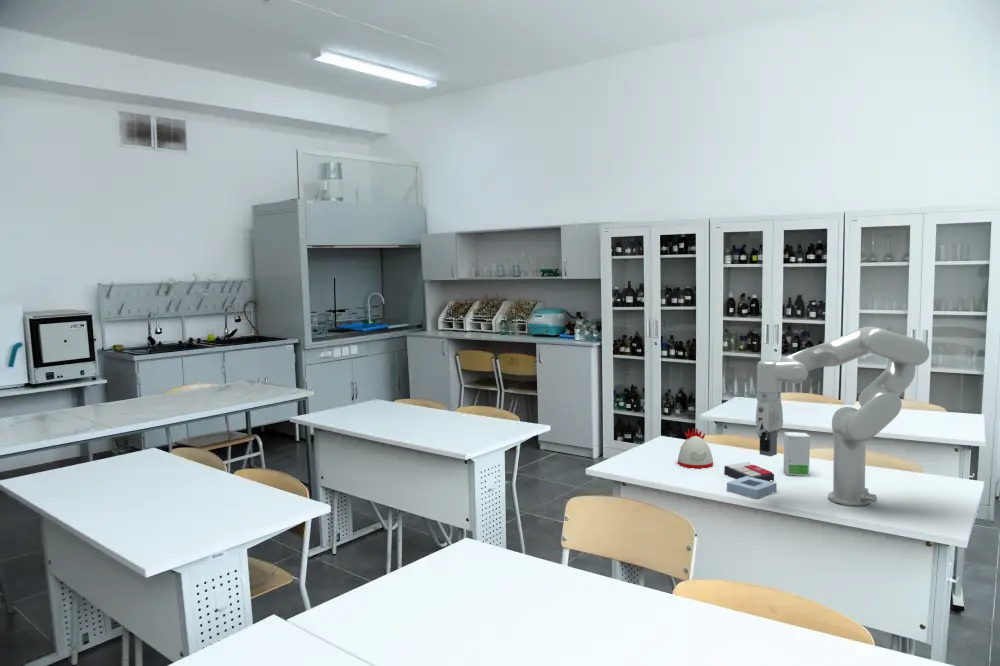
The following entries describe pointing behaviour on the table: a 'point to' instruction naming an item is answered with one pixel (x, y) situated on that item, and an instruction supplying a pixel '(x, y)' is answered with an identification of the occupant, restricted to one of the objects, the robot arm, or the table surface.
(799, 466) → the skincare box
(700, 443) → the kitchen timer
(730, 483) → the outlet plate
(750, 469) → the calculator
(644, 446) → the table surface
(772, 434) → the block
